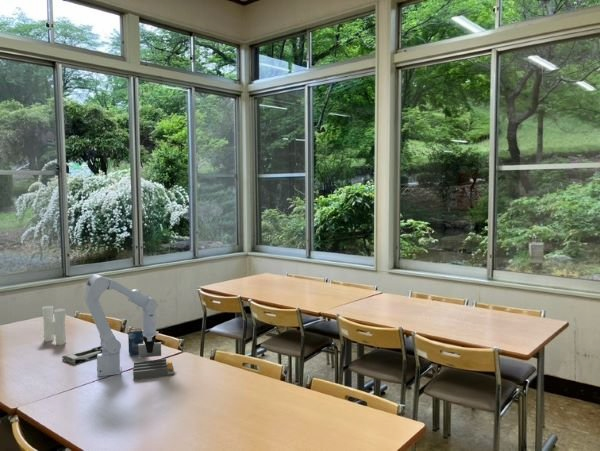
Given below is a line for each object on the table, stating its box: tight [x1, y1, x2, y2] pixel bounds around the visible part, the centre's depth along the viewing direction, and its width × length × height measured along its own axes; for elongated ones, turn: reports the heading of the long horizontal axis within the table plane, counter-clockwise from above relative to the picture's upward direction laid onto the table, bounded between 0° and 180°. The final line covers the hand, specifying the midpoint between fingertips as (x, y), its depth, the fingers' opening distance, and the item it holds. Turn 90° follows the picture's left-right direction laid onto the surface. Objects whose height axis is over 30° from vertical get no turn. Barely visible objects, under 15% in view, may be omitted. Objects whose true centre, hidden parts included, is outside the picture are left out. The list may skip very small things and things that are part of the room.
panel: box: [138, 341, 162, 359], centre depth 220 cm, size 10×2×6 cm, turn 108°
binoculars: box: [41, 305, 67, 346], centre depth 253 cm, size 17×5×18 cm, turn 56°
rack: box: [132, 358, 175, 381], centre depth 209 cm, size 16×12×4 cm
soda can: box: [127, 328, 144, 357], centre depth 233 cm, size 7×7×12 cm
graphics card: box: [61, 345, 103, 366], centre depth 231 cm, size 10×3×25 cm
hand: (149, 352), depth 220 cm, fingers closed on panel, 2 cm apart
